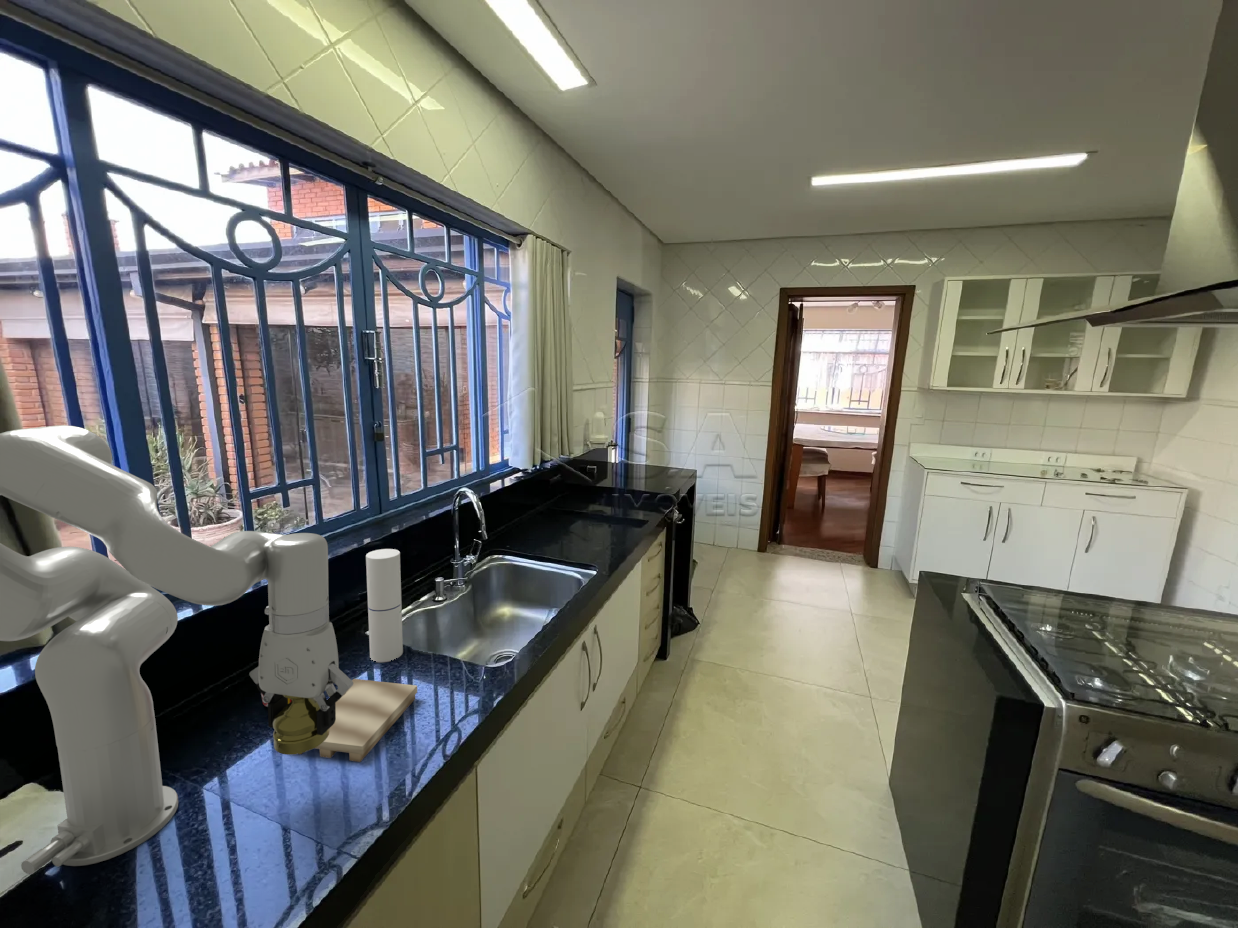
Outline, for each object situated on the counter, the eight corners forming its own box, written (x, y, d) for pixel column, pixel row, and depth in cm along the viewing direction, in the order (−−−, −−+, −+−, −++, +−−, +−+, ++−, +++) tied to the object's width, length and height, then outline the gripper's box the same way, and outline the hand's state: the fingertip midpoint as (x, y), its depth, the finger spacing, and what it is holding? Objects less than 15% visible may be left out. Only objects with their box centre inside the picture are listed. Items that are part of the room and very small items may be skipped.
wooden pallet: (363, 762, 86) (362, 746, 85) (288, 752, 87) (287, 736, 87) (417, 698, 103) (417, 685, 103) (354, 691, 105) (353, 678, 104)
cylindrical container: (363, 659, 117) (358, 556, 114) (384, 644, 124) (380, 547, 120) (389, 664, 116) (385, 560, 112) (409, 649, 123) (406, 550, 119)
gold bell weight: (341, 731, 80) (340, 673, 78) (297, 762, 73) (295, 698, 72) (307, 718, 82) (306, 661, 81) (261, 747, 75) (259, 685, 74)
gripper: (224, 621, 72) (229, 733, 75) (336, 635, 70) (338, 750, 73) (267, 600, 80) (270, 703, 82) (369, 612, 78) (369, 717, 80)
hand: (302, 724), depth 77 cm, fingers closed on gold bell weight, 7 cm apart
